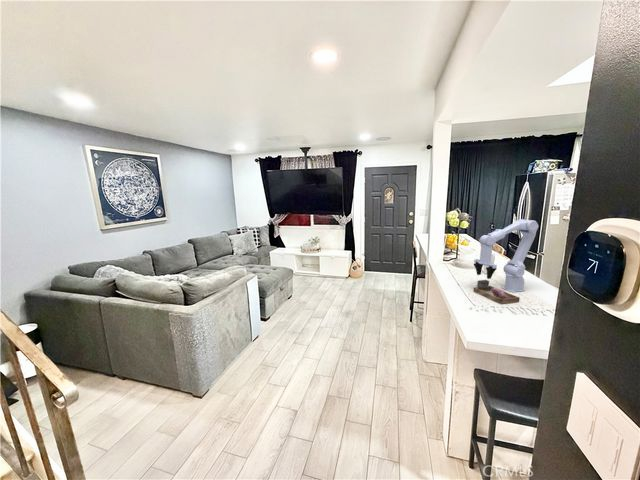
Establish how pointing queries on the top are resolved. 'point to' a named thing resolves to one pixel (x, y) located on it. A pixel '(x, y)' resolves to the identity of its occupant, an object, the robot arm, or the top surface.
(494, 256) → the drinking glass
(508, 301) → the sliding frame
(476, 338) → the top surface
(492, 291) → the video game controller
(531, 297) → the top surface
